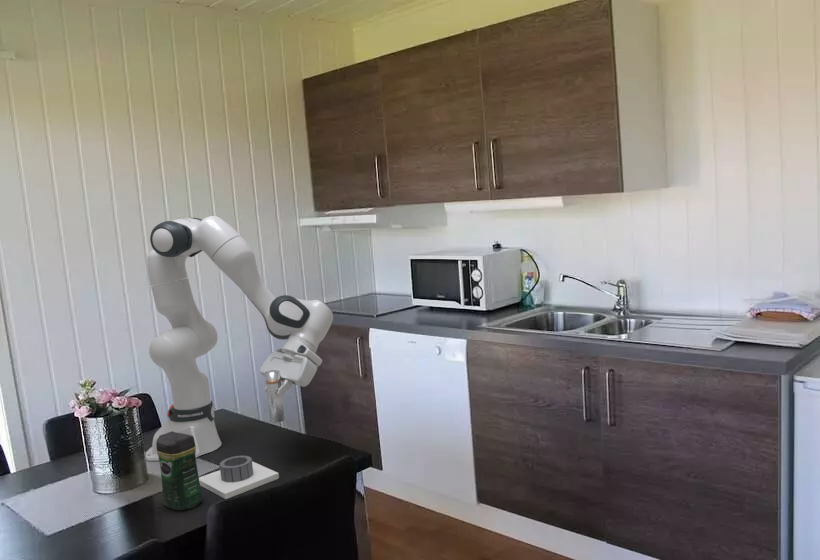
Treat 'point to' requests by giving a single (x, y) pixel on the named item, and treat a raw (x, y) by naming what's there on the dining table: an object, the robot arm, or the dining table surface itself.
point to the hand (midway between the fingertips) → (272, 393)
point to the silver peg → (274, 396)
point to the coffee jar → (179, 470)
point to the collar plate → (237, 486)
